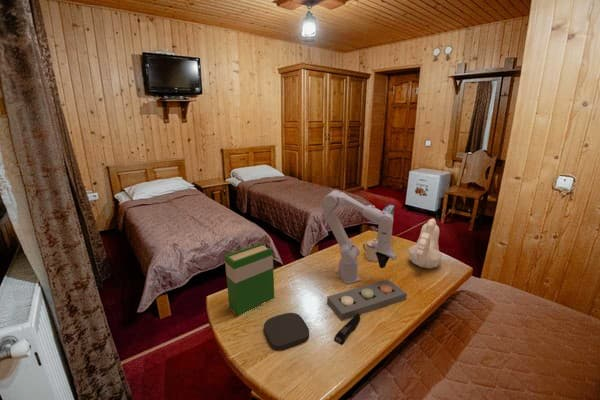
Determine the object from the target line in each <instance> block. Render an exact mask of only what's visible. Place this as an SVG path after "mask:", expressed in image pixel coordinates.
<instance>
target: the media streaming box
mask: <svg viewBox="0 0 600 400" xmlns="http://www.w3.org/2000/svg"><path fill="white" fill-rule="evenodd" d="M263 331H265V332H264V334H265V337H266V339H267V342H268V343H269V345H270V347H271V348H272V349H274V350H275V351H285V350H288V349H290V348H295V347H297V346H299V345H302V344H304V343H306V342H308V340H309V339H310V329H309V327H308V325H307V324H306V322H305V320H304V319H303V317H302V316H301V315H300V314H298V313H295V312H287V313H286V312H285V313H282V314H279V315H275V316H273V317H270V318H269V319H267V320H265V322H264V324H263Z"/></svg>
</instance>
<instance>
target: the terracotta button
mask: <svg viewBox="0 0 600 400" xmlns="http://www.w3.org/2000/svg"><path fill="white" fill-rule="evenodd" d="M380 290H381V291H382V292H383V293H384V294H388V293H391V292H392V287H391V286H389V285H381V286H380Z"/></svg>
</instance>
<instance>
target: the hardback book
mask: <svg viewBox="0 0 600 400" xmlns="http://www.w3.org/2000/svg"><path fill="white" fill-rule="evenodd" d="M273 252H274V251H273V248H272V247H269V248H268V247H266V246H265V243H264V242H261V243H257V244H254V245H252V246H249V247H245V248H242V249H240V250H236V251H234V252H231V253H228V254H224V262H225V263H224V264H225V274H226V285H227V287H226V288H227V294H228V296H227V297H228V307H229V309H230V308H231V309H232V310H233V311H234V312H235V313H234V312H233V311H232V310H231V309H230V310H231V311H232V312H233V313H234V314H235V315H236V316H237V317H240V316H242V315H244V314H246V313H248V312H250V311H252V310H254V309H256V308H258V307H260V306H262V305H263V304H262V303H264V302H267V301H269V300H271V299H273V298H274V299H275V281H274V280H275V275H274V274H275V273H274V255H273V254H274V253H273ZM274 299H273V300H274ZM271 301H272V300H271ZM269 302H270V301H269ZM267 303H268V302H267ZM261 304H262V305H261ZM259 305H260V306H259ZM257 306H258V307H257ZM255 307H256V308H255ZM253 308H254V309H253ZM251 309H252V310H251ZM249 310H250V311H249ZM247 311H248V312H247ZM245 312H246V313H245ZM243 313H244V314H243ZM241 314H242V315H241ZM239 315H240V316H239Z"/></svg>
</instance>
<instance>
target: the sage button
mask: <svg viewBox="0 0 600 400" xmlns="http://www.w3.org/2000/svg"><path fill="white" fill-rule="evenodd" d="M373 294H374V292H373V291H372V290H371V289H368V288H365V289H362V291H361V296H362V297H363V298H364V299H365V300H369V299H372V298H373Z"/></svg>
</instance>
